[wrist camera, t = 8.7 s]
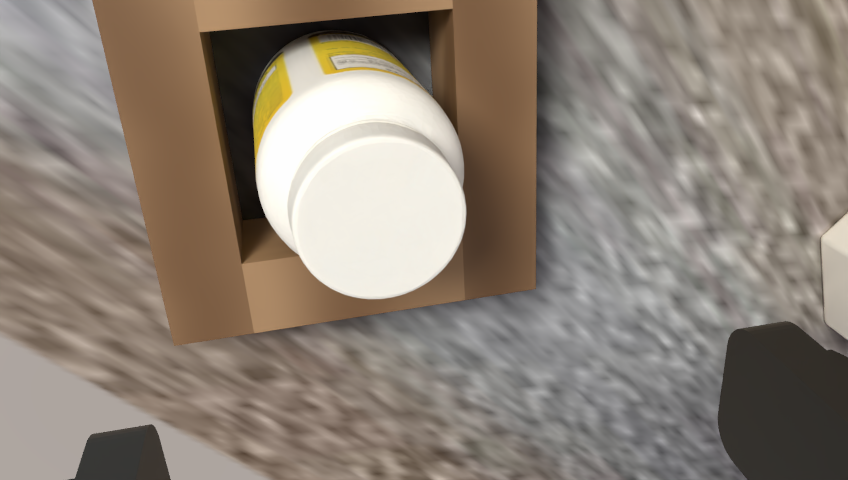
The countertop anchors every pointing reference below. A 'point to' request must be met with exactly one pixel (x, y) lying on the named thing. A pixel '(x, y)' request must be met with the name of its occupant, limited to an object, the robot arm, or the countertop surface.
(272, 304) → the socket block
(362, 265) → the supplement bottle
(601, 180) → the countertop surface
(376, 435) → the countertop surface
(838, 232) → the jar
